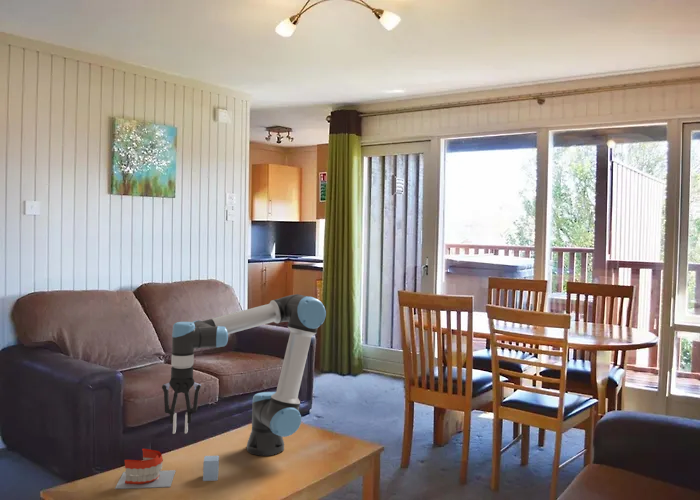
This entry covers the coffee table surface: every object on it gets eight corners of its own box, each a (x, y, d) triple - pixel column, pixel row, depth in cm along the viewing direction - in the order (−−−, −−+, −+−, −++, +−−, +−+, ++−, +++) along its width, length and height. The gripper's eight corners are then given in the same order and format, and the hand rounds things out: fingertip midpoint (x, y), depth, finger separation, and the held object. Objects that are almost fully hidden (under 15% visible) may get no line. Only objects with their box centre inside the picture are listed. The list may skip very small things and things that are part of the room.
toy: (150, 487, 199) (151, 464, 198) (122, 484, 201) (123, 460, 201) (169, 473, 211) (169, 451, 211) (142, 470, 213) (143, 448, 213)
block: (218, 474, 212) (218, 455, 212) (217, 480, 207) (218, 460, 207) (204, 475, 212) (204, 455, 211) (202, 480, 207) (203, 461, 206)
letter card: (175, 471, 214) (175, 470, 214) (170, 487, 200) (170, 486, 200) (123, 472, 211) (123, 471, 211) (114, 489, 197) (114, 488, 197)
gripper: (207, 363, 212) (205, 428, 212) (159, 363, 209) (157, 429, 210) (205, 368, 205) (203, 435, 205) (156, 368, 202) (154, 436, 202)
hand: (180, 432), depth 207 cm, fingers open, 3 cm apart
